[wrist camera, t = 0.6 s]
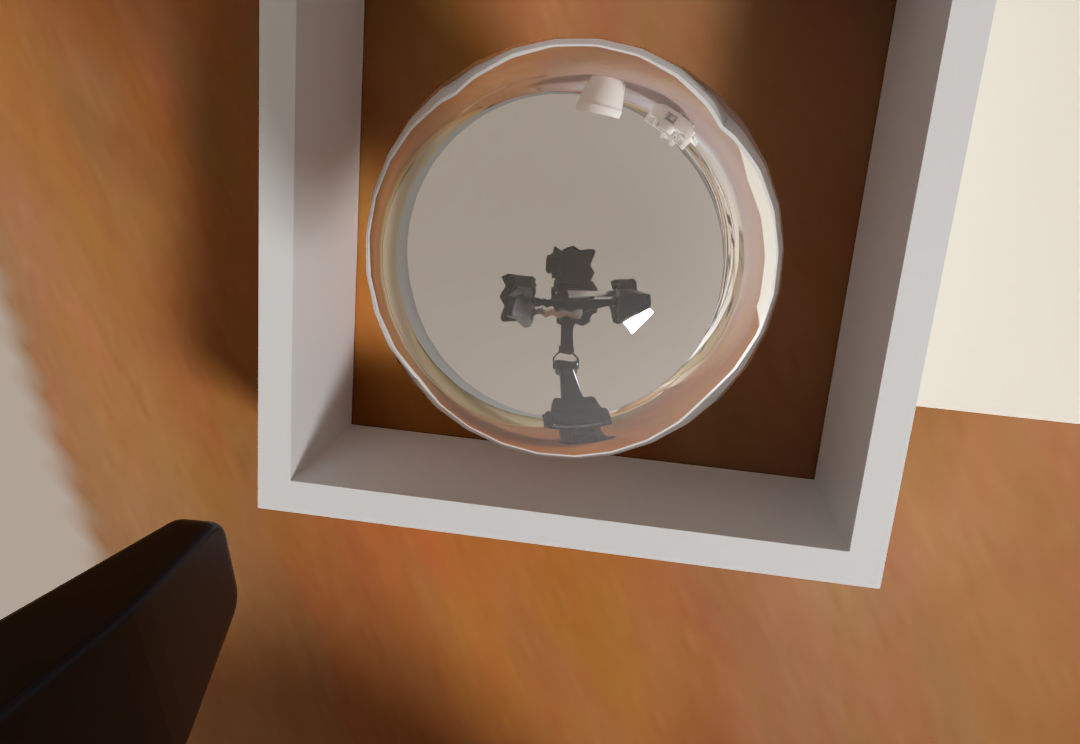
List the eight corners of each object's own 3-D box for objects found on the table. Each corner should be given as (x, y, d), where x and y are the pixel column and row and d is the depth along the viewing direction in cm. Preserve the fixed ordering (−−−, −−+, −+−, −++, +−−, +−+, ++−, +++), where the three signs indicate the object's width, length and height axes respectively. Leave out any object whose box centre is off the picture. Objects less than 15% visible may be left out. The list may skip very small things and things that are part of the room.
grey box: (839, 510, 24) (879, 588, 20) (323, 447, 26) (258, 507, 22) (944, -71, 21) (1022, -129, 16) (336, -108, 22) (259, -170, 18)
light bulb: (416, 190, 24) (194, 231, 12) (629, 16, 22) (605, -127, 11) (573, 395, 25) (505, 616, 13) (790, 243, 23) (931, 342, 11)
